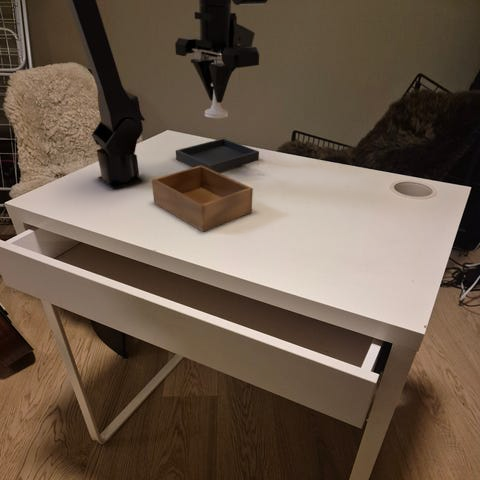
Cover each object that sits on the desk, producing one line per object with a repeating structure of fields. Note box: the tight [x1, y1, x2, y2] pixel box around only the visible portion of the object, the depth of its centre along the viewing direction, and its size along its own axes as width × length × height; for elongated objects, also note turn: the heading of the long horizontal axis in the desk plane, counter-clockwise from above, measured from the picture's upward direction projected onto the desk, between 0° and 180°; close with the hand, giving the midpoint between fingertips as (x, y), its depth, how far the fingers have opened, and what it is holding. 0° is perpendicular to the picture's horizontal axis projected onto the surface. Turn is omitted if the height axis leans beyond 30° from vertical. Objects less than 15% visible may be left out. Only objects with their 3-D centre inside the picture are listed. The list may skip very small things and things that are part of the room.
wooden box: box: [151, 165, 254, 232], centre depth 73 cm, size 11×14×4 cm
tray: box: [175, 137, 260, 173], centre depth 93 cm, size 14×12×2 cm
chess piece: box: [204, 59, 229, 119], centre depth 83 cm, size 5×5×10 cm
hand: (216, 101), depth 85 cm, fingers closed on chess piece
